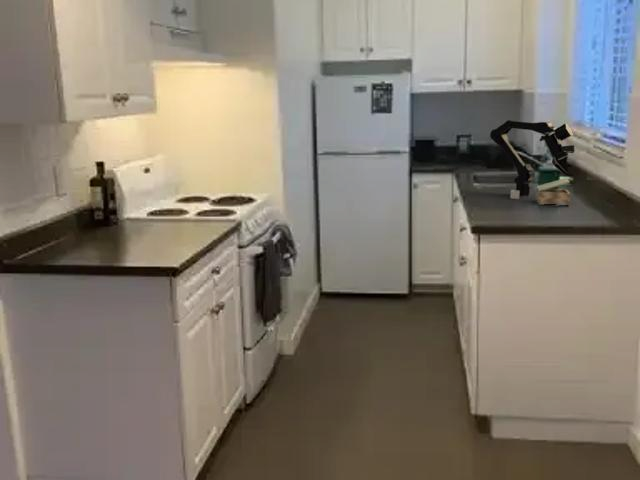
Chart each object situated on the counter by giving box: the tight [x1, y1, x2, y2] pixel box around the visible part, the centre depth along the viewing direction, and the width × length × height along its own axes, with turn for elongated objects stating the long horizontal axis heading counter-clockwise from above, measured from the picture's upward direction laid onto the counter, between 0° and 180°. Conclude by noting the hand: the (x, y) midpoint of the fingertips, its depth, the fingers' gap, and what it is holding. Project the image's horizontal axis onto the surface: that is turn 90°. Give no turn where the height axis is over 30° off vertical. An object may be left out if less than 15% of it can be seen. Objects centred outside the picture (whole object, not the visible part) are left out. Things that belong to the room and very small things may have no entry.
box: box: [535, 187, 571, 205], centre depth 331 cm, size 14×14×6 cm
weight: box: [509, 189, 520, 200], centre depth 344 cm, size 4×4×4 cm
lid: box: [536, 177, 571, 191], centre depth 330 cm, size 14×14×1 cm
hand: (566, 173), depth 341 cm, fingers open, 9 cm apart
